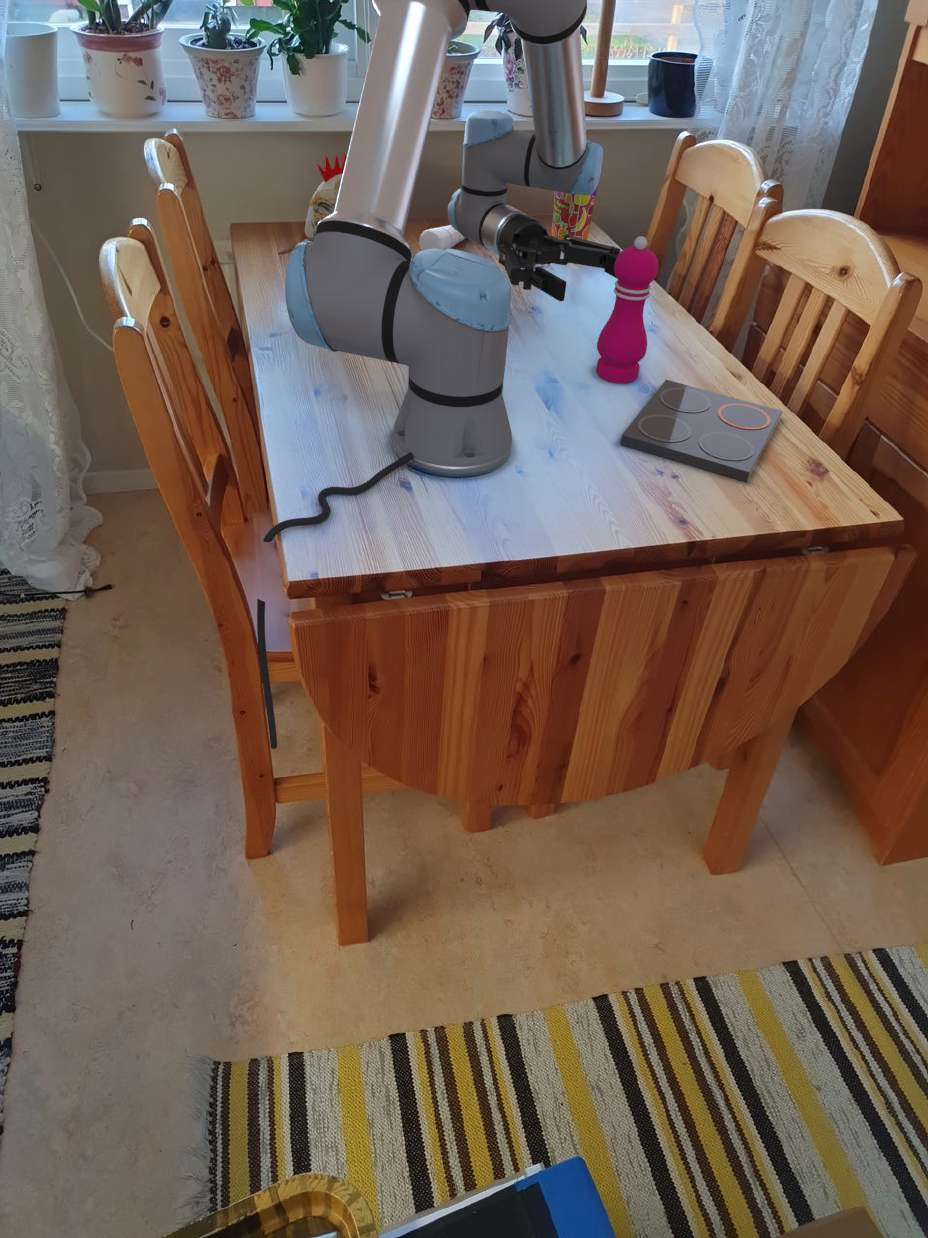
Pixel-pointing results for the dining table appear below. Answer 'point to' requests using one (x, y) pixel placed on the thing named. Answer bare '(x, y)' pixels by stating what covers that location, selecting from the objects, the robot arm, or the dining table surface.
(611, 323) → the pepper mill
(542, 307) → the dining table surface
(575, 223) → the smoothie
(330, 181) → the skull with red mohawk
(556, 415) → the dining table surface
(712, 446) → the hob
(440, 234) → the unicorn horn
